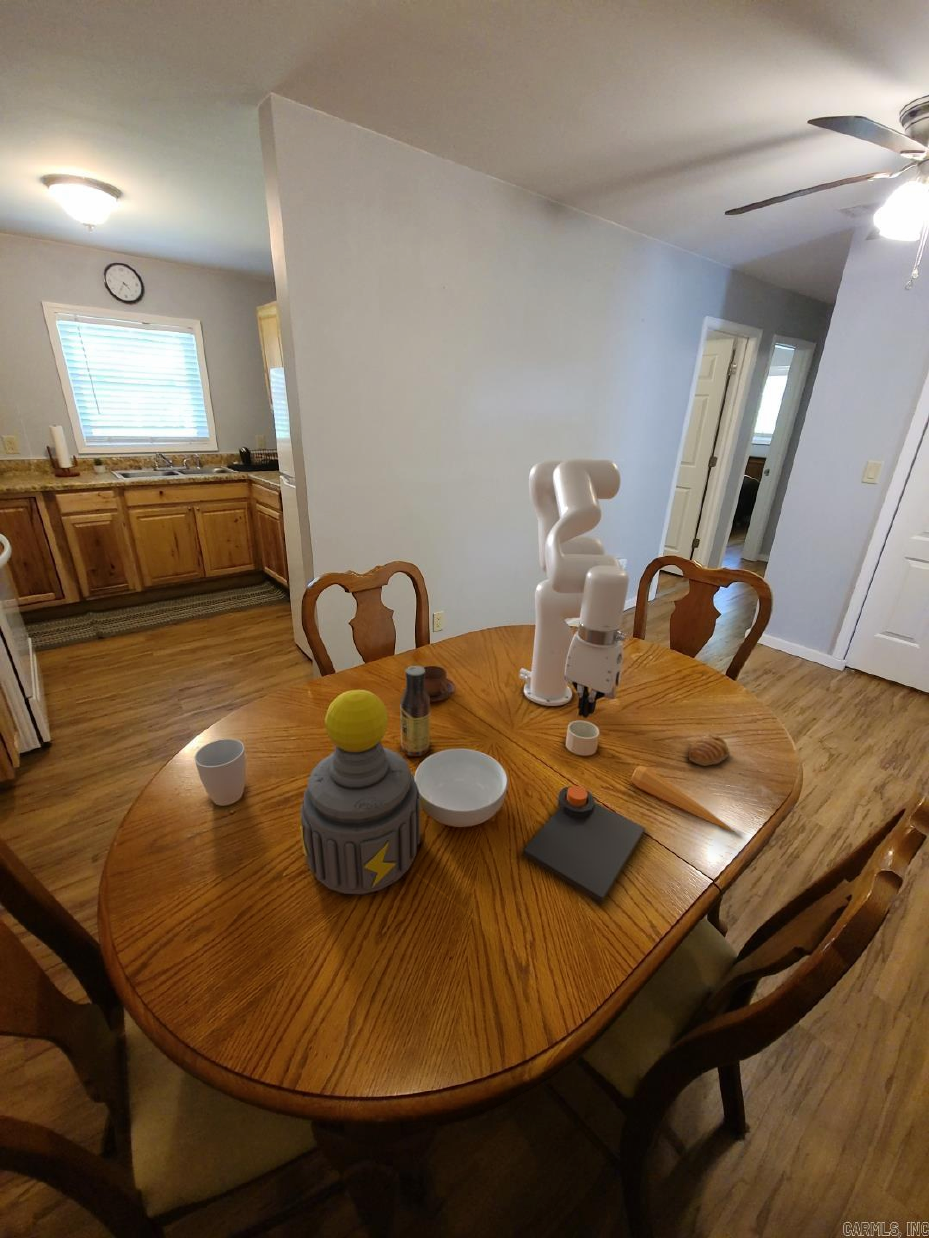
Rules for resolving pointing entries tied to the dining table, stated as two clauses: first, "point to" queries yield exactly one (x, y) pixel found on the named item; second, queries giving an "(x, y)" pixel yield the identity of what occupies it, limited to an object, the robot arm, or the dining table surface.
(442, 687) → the cup and saucer
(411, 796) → the decorative lamp
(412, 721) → the sauce bottle
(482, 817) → the cereal bowl
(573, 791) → the power button
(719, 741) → the pastry
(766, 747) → the dining table surface
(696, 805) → the carrot
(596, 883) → the scale
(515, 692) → the dining table surface
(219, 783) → the cup
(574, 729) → the small bowl
